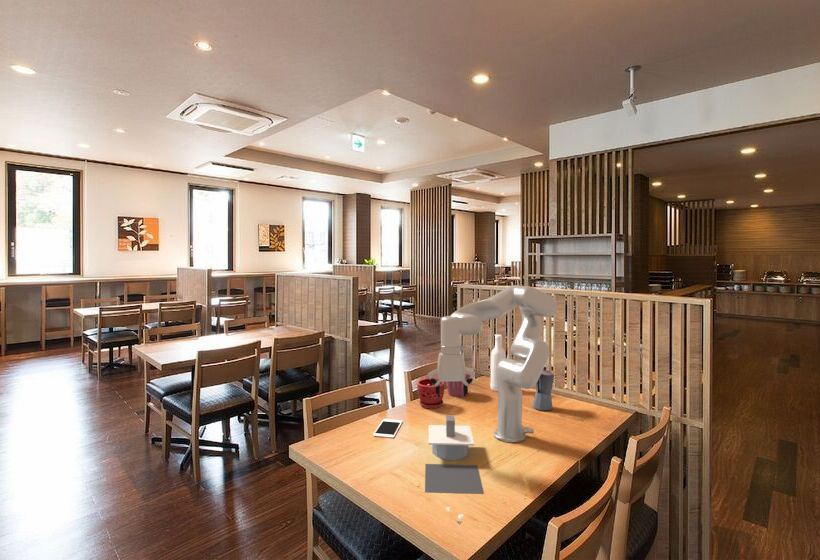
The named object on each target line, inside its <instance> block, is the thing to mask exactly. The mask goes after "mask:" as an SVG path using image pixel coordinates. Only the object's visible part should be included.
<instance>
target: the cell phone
mask: <svg viewBox="0 0 820 560" xmlns="http://www.w3.org/2000/svg"><path fill="white" fill-rule="evenodd" d="M403 422H404V420H400V419H390V418H383V419H382V420H381V422H380V424H378V426H377V428H376V429H375V431H374V432H373V433H372V437H373V436H376V437H375V438H382V437H386V438H385V439H395V437H396V435H397V433H398V431H399V430H400V428H401V426H402V424H403ZM398 429H399V430H398Z"/></svg>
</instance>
